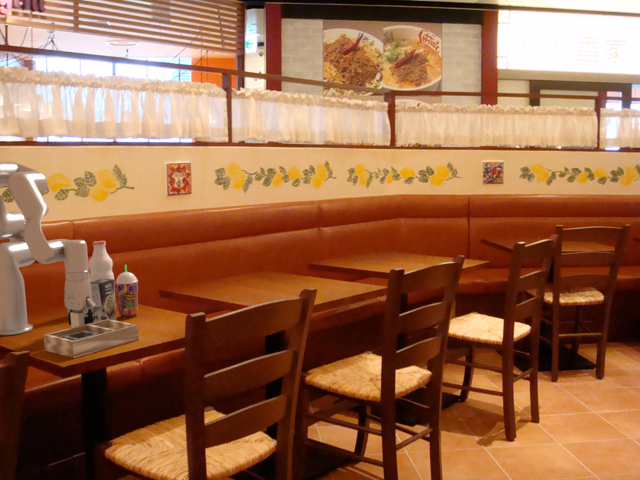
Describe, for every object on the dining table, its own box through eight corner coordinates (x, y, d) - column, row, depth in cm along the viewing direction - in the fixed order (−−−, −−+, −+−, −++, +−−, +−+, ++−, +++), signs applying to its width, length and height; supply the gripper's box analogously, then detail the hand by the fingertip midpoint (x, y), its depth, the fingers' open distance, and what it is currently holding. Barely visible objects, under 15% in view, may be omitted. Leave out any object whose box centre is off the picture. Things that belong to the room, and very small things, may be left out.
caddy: (44, 350, 210) (43, 334, 209) (108, 333, 229) (107, 319, 229) (74, 358, 201) (73, 341, 200) (138, 339, 220) (137, 324, 219)
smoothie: (128, 319, 248) (124, 267, 246) (112, 317, 253) (109, 265, 250) (144, 315, 255) (141, 263, 253) (129, 313, 260) (126, 262, 257)
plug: (71, 335, 228) (70, 309, 227) (83, 332, 232) (81, 307, 231) (79, 337, 225) (77, 311, 224) (91, 334, 229) (89, 308, 228)
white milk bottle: (96, 308, 270) (92, 240, 266) (119, 308, 269) (115, 239, 266) (87, 313, 260) (82, 243, 257) (111, 313, 260) (106, 242, 257)
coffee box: (104, 327, 237) (101, 283, 235) (88, 327, 239) (85, 283, 237) (117, 321, 246) (114, 278, 244) (101, 321, 248) (98, 278, 246)
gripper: (52, 276, 228) (56, 325, 230) (82, 280, 218) (86, 331, 220) (72, 272, 234) (76, 320, 236) (102, 276, 224) (106, 326, 226)
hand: (81, 325), depth 228 cm, fingers open, 8 cm apart
